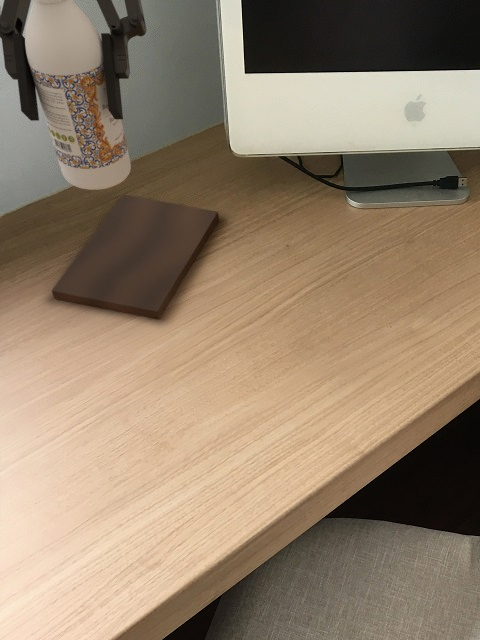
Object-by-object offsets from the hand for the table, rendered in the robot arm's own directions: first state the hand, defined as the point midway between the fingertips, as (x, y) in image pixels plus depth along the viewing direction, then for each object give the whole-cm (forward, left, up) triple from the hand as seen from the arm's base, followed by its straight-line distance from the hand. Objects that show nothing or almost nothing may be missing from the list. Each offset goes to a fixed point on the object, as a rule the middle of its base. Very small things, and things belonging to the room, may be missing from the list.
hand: (73, 115), depth 73 cm
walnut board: (-2, +9, -22) cm, 24 cm away
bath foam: (-1, +3, -8) cm, 9 cm away
